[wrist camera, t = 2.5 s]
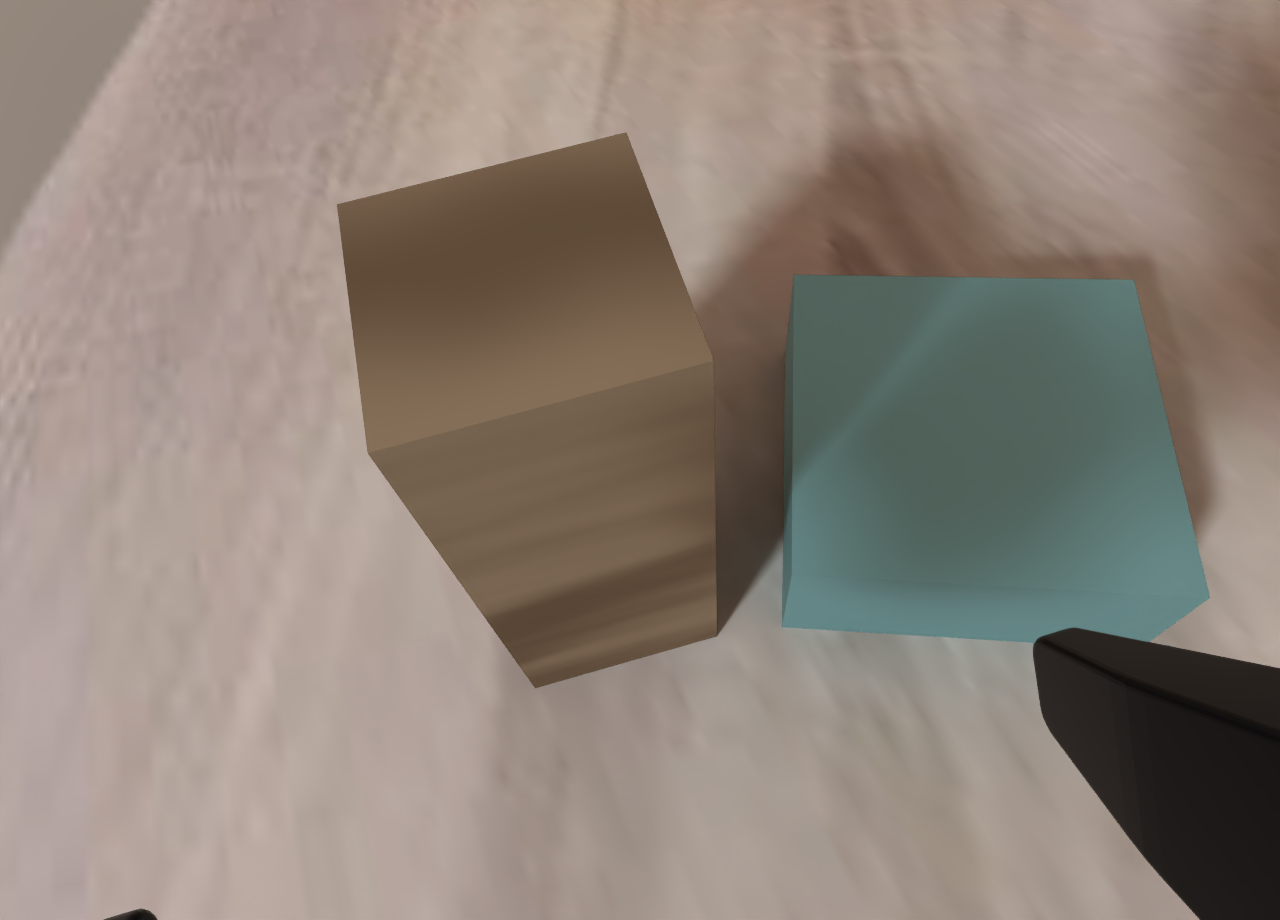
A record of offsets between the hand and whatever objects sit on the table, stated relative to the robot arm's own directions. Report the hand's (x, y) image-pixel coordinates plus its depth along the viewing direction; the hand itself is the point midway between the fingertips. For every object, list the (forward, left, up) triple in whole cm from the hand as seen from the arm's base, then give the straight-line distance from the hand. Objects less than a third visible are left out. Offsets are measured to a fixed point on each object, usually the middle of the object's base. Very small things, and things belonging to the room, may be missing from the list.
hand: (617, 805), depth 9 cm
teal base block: (0, -13, -14) cm, 19 cm away
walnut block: (+6, -5, -14) cm, 16 cm away
